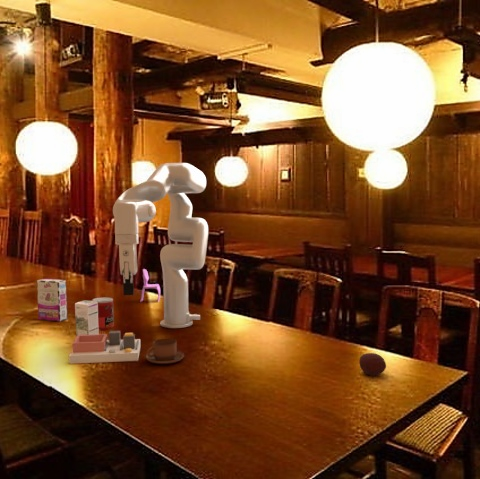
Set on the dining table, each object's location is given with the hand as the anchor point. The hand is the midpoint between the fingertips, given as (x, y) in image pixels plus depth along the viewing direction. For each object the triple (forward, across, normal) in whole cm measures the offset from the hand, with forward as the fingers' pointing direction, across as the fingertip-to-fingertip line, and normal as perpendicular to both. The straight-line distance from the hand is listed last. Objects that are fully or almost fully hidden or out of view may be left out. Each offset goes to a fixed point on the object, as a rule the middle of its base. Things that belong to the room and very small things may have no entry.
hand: (128, 294), depth 191 cm
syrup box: (+19, +12, +16) cm, 27 cm away
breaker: (+16, 0, +5) cm, 17 cm away
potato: (+19, -32, -72) cm, 81 cm away
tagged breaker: (+16, -5, 0) cm, 17 cm away
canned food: (+19, +33, +13) cm, 40 cm away
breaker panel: (+19, -3, +7) cm, 21 cm away
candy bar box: (+19, +48, +35) cm, 63 cm away
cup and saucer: (+19, -12, -12) cm, 26 cm away
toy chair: (+20, +80, -3) cm, 82 cm away
